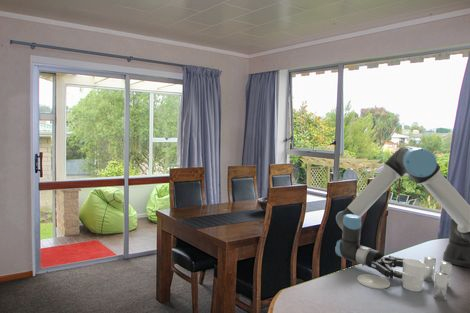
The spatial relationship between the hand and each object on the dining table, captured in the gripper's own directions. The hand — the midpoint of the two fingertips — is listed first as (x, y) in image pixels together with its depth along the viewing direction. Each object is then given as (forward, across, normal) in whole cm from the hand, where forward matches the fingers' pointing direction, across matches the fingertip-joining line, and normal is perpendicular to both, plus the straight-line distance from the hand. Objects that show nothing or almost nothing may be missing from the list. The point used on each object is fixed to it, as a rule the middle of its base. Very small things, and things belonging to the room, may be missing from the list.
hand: (420, 275), depth 142 cm
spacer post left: (-3, -13, -6) cm, 15 cm away
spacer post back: (+3, -13, -6) cm, 15 cm away
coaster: (-14, +8, -6) cm, 17 cm away
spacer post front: (+7, 0, -6) cm, 9 cm away
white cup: (-3, 0, -6) cm, 7 cm away
